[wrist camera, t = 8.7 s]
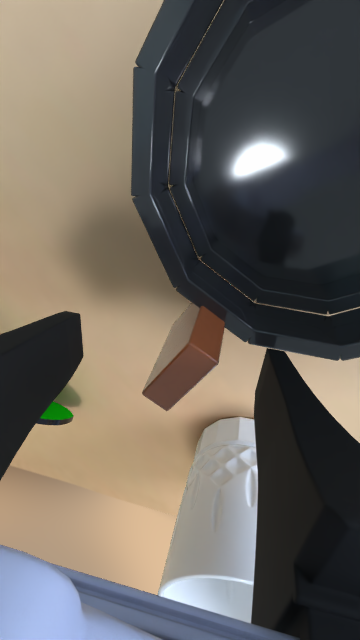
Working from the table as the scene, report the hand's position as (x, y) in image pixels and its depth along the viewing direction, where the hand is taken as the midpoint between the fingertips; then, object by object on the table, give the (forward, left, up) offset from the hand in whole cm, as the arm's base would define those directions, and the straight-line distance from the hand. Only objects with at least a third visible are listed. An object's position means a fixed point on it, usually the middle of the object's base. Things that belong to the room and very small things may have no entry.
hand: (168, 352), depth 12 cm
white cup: (+4, +13, -7) cm, 15 cm away
